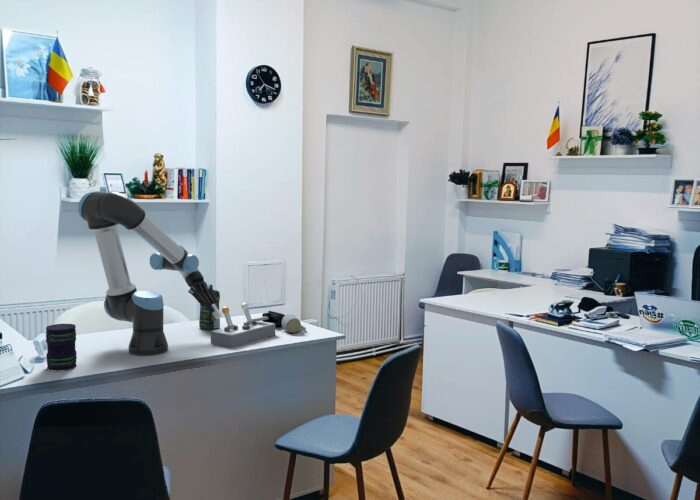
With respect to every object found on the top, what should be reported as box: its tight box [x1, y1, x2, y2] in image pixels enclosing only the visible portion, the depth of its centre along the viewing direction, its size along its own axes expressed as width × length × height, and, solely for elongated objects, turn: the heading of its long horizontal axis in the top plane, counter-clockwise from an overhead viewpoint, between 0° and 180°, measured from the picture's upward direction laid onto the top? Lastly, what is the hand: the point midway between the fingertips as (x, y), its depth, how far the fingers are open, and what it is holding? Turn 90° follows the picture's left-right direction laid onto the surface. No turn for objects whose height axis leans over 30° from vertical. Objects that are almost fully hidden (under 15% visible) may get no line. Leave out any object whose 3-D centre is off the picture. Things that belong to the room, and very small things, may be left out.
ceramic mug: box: [282, 313, 307, 334], centre depth 287 cm, size 11×8×8 cm
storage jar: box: [45, 323, 78, 372], centre depth 223 cm, size 10×10×15 cm
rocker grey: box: [251, 316, 269, 321], centre depth 279 cm, size 6×4×1 cm
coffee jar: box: [198, 289, 221, 331], centre depth 290 cm, size 10×8×19 cm
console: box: [210, 321, 276, 348], centre depth 271 cm, size 12×28×7 cm, turn 147°
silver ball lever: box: [240, 302, 255, 325], centre depth 274 cm, size 3×4×10 cm
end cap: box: [261, 310, 286, 329], centre depth 298 cm, size 10×7×7 cm
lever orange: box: [221, 306, 236, 330], centre depth 264 cm, size 3×4×10 cm
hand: (219, 317), depth 268 cm, fingers closed
